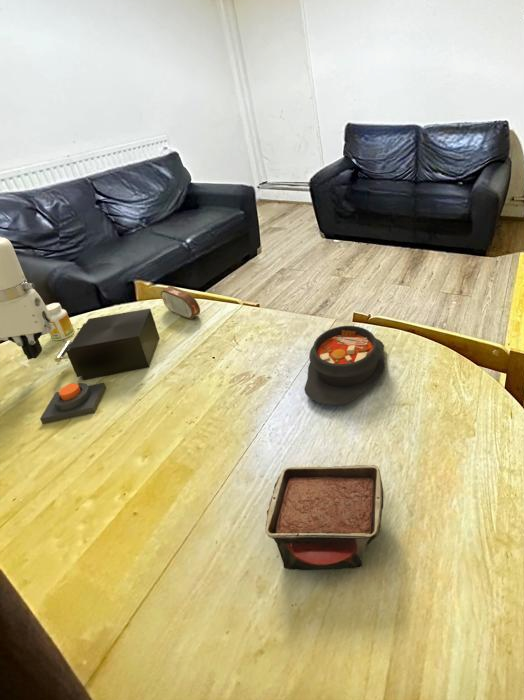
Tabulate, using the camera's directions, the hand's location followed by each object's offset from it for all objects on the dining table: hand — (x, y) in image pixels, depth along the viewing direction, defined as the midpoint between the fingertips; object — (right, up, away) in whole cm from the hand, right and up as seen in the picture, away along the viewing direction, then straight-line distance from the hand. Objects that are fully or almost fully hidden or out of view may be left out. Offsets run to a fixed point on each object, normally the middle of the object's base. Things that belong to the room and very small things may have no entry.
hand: (35, 355), depth 101 cm
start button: (+16, -6, -9) cm, 19 cm away
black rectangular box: (+18, -3, +7) cm, 19 cm away
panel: (+16, -9, -8) cm, 20 cm away
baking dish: (+77, -19, -34) cm, 87 cm away
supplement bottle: (-6, +1, +17) cm, 18 cm away
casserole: (+77, -4, -1) cm, 77 cm away
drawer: (+14, -2, +5) cm, 15 cm away
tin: (+24, +5, +25) cm, 35 cm away
